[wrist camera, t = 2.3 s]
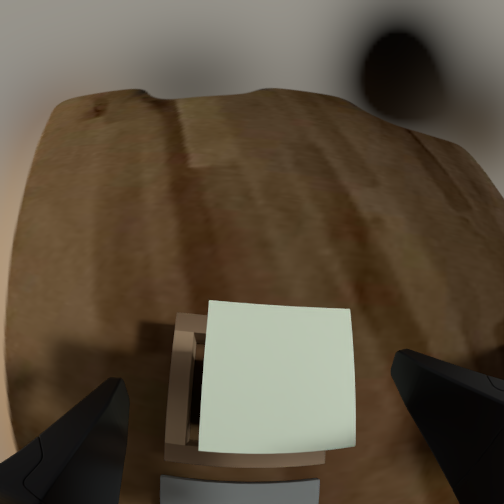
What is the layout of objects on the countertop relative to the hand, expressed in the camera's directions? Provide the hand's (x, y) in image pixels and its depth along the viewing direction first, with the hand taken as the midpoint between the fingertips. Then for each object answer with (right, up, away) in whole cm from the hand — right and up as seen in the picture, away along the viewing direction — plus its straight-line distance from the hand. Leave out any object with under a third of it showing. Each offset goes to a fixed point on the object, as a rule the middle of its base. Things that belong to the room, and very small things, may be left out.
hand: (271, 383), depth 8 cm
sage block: (-1, -4, +7) cm, 8 cm away
